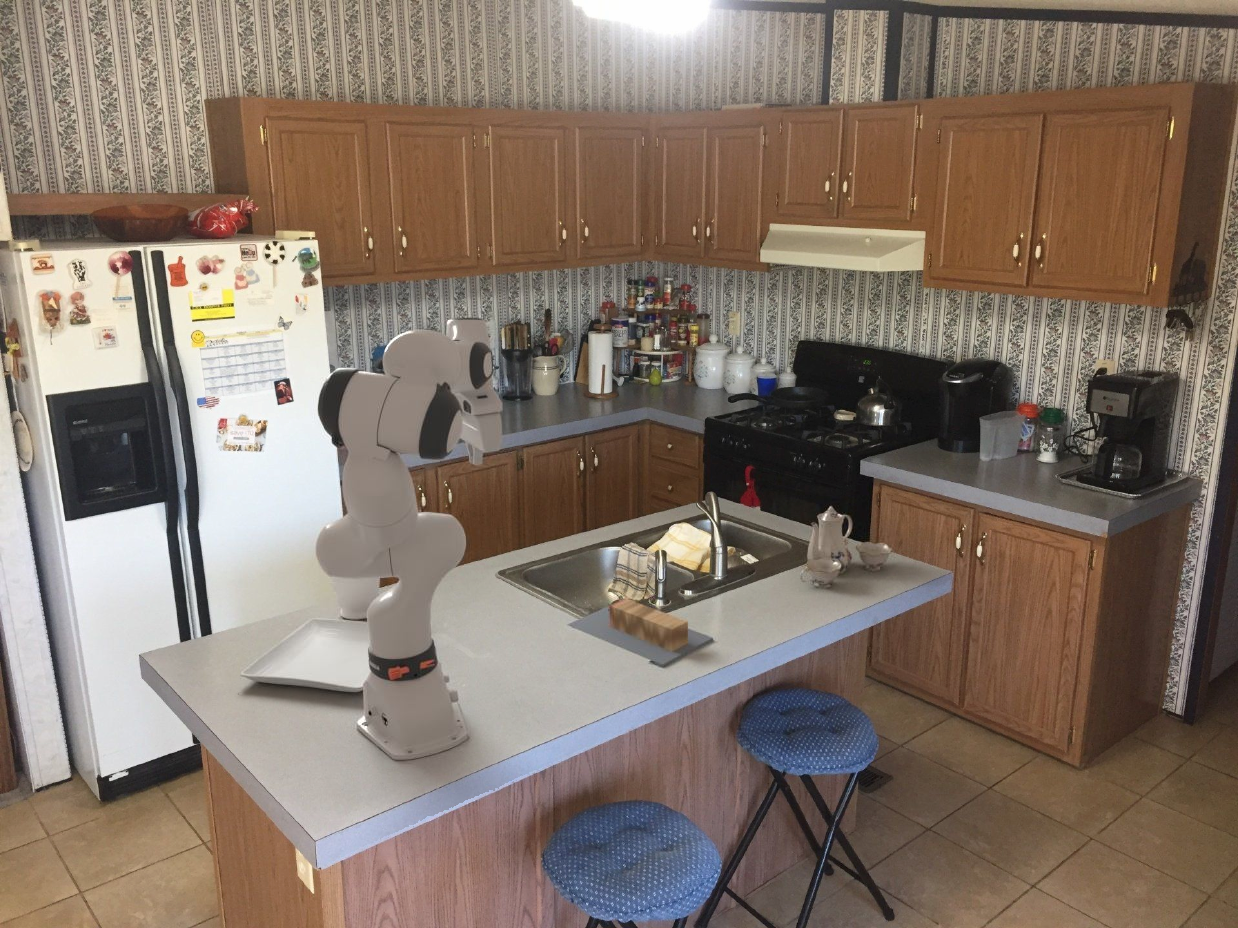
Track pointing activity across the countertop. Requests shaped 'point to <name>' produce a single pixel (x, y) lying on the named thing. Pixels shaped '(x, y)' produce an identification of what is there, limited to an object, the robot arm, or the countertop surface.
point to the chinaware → (837, 550)
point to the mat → (636, 639)
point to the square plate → (317, 657)
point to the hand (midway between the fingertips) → (476, 463)
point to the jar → (355, 596)
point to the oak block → (649, 624)
